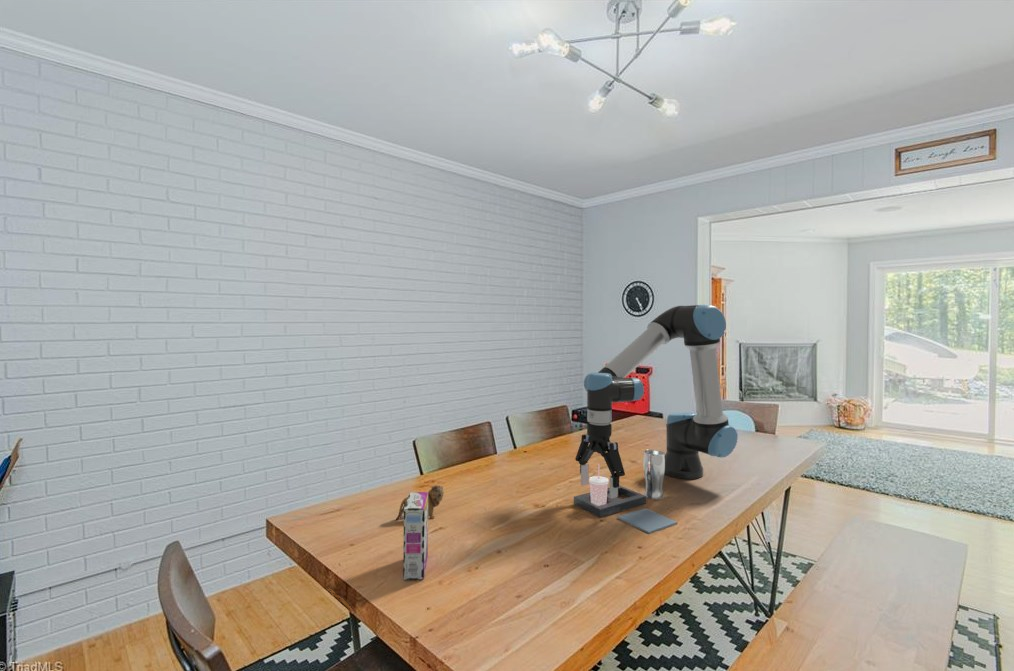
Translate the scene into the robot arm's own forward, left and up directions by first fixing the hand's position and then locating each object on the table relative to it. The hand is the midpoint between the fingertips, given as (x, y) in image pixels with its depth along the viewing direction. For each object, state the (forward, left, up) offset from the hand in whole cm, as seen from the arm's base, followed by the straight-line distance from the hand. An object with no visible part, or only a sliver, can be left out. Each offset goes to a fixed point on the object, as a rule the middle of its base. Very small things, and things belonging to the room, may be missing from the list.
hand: (598, 490), depth 149 cm
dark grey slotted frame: (-5, 0, -5) cm, 7 cm away
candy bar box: (+62, +4, -6) cm, 62 cm away
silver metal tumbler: (-22, +3, -5) cm, 23 cm away
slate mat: (-5, +15, -5) cm, 17 cm away
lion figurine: (+50, -23, -6) cm, 55 cm away
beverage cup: (0, 0, -5) cm, 5 cm away
